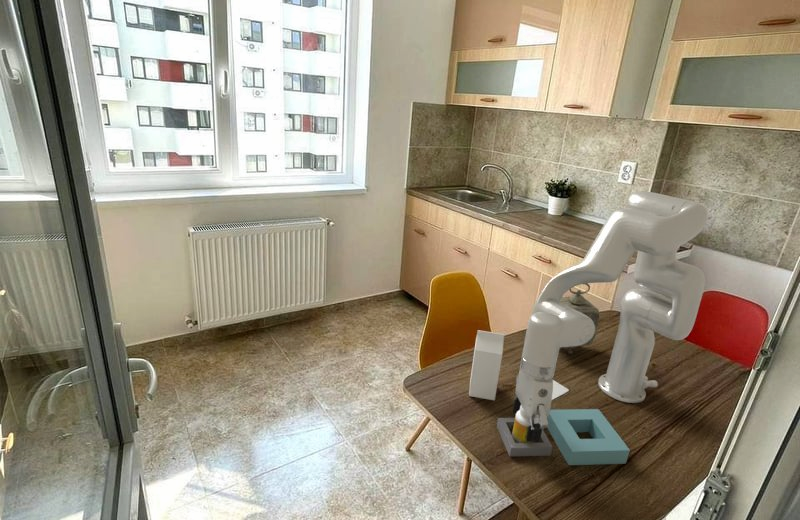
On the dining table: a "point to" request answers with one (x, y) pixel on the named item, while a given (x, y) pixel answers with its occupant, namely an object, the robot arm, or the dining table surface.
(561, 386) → the smartphone
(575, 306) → the tabletop clock
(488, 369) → the milk carton
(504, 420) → the grey picture frame
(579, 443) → the socket block
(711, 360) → the dining table surface
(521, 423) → the supplement bottle
